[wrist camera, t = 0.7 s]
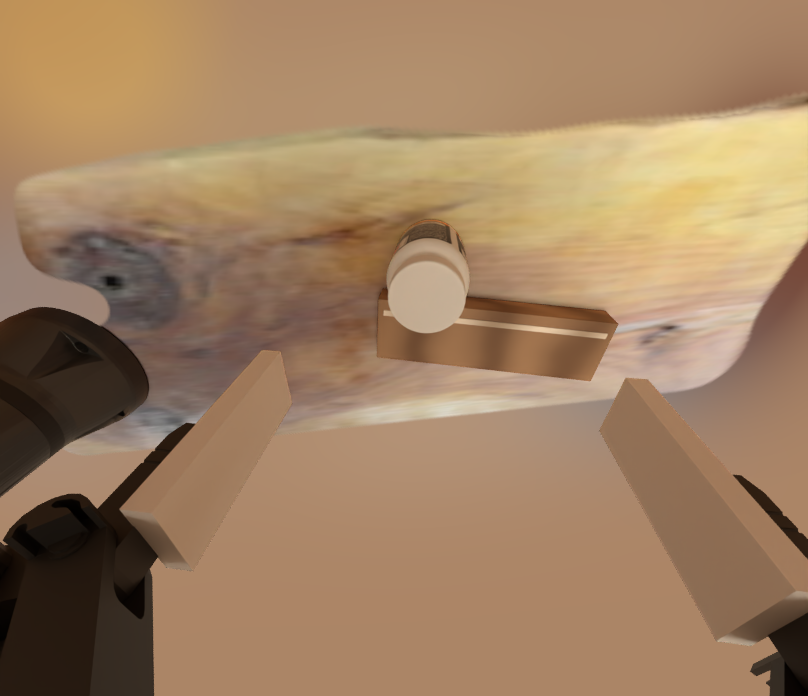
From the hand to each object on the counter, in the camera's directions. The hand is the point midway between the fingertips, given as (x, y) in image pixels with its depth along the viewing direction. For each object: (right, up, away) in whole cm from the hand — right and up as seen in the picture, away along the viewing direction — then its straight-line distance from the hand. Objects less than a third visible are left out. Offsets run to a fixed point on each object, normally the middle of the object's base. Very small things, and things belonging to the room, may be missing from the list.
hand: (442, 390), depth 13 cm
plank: (+6, +4, +18) cm, 19 cm away
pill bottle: (+1, +10, +15) cm, 18 cm away
